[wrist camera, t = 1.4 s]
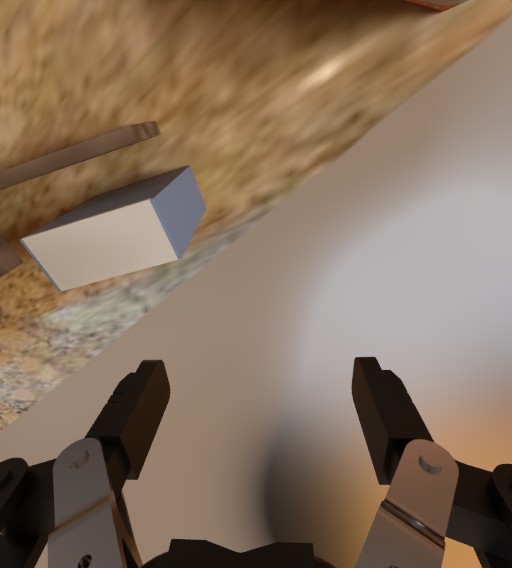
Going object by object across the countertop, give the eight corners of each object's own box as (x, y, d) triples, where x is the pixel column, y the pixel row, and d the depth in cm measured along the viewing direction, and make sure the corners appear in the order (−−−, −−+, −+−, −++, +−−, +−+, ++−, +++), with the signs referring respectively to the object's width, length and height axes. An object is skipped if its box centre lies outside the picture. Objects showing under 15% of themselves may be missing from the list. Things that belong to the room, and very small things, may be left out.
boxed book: (97, 194, 41) (17, 240, 27) (189, 165, 39) (152, 198, 25) (120, 233, 44) (58, 292, 31) (206, 208, 42) (181, 258, 28)
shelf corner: (-50, 194, 41) (-152, 223, 31) (155, 121, 36) (115, 127, 26) (10, 266, 47) (-59, 310, 37) (193, 212, 42) (172, 246, 32)
